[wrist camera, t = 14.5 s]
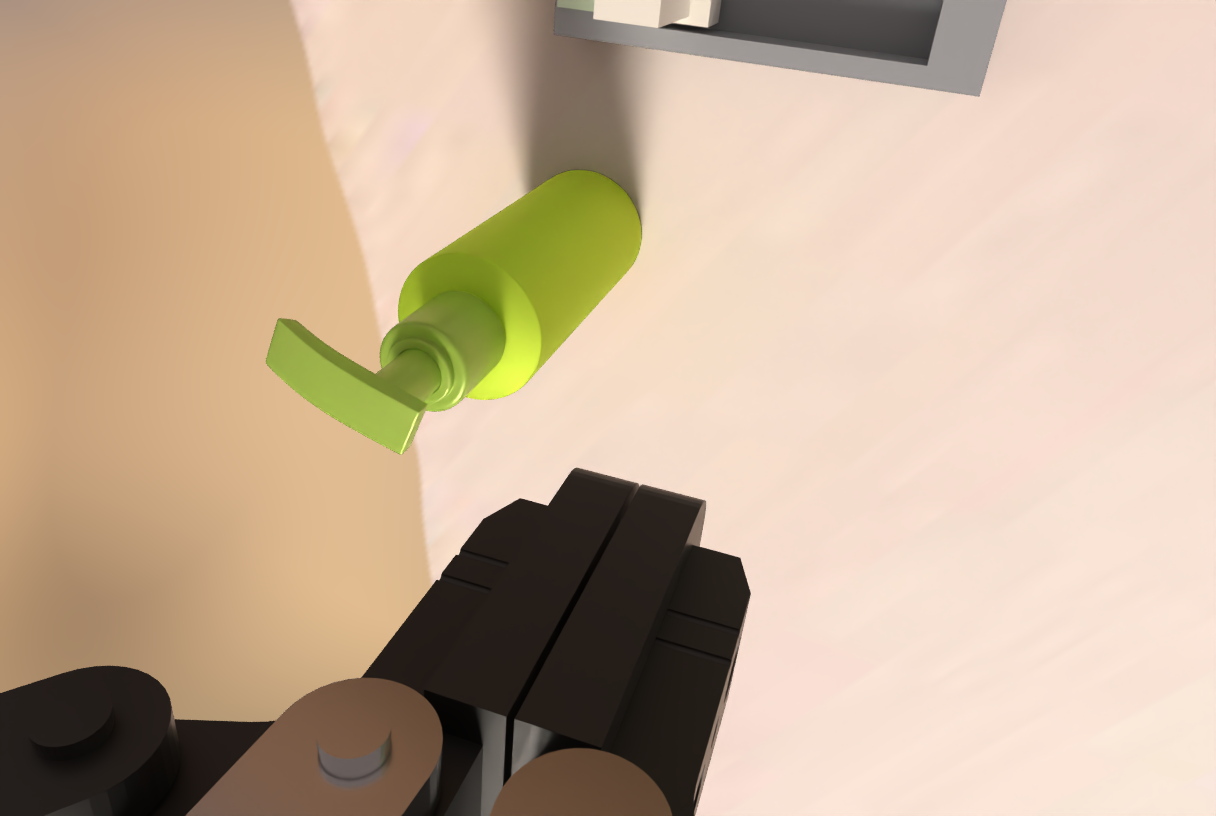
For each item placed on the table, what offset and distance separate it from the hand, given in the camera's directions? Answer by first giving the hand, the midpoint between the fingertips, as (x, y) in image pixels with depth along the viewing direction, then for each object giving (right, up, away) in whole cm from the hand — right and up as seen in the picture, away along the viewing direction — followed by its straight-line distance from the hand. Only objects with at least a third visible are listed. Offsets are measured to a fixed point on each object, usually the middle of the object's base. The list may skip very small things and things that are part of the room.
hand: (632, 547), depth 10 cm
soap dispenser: (-2, +11, +34) cm, 36 cm away
